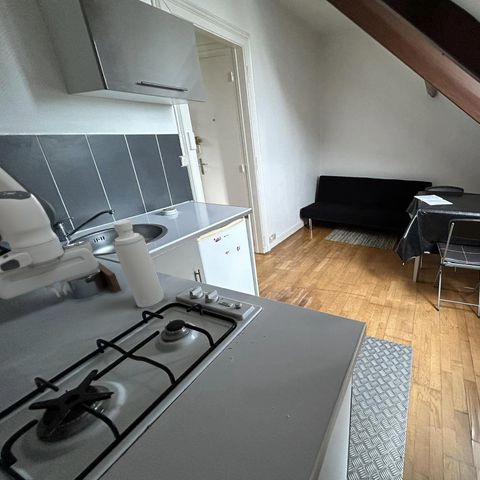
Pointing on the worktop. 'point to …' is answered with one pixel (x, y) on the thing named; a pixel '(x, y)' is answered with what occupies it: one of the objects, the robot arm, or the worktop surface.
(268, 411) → the worktop surface
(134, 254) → the white bottle
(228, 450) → the worktop surface
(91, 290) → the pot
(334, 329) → the worktop surface
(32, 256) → the robot arm
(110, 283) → the backboard
